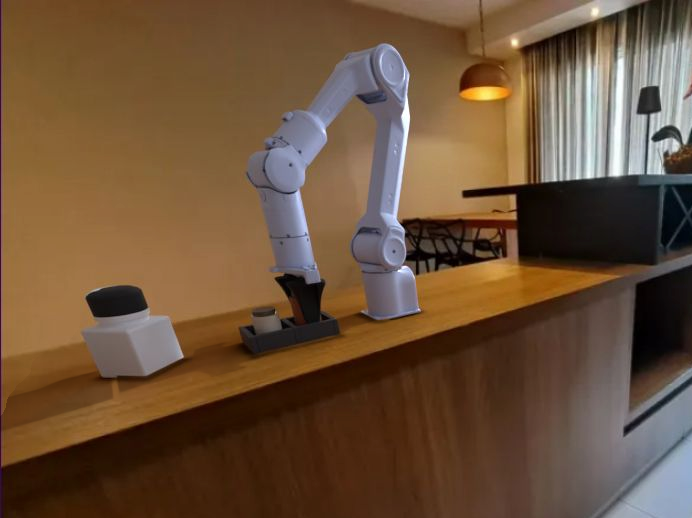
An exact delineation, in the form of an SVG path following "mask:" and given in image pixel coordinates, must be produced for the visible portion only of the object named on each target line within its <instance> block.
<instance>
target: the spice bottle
mask: <svg viewBox="0 0 692 518" xmlns="http://www.w3.org/2000/svg"><path fill="white" fill-rule="evenodd" d="M291 293H292V292H291ZM289 299H290V302H289V303H291V304H290V307H291V311H292V315H293V316H294V320H295V324H296V326H300V325H305V324H308V323H306V321H305V319H304V317H303V315H302V312H301V310H300V307H299V304H298V302H297V300H296V298H295V296H294V295H293V293H292V295H291V296H290V297H289ZM320 321H322V318H321V316H320Z"/></svg>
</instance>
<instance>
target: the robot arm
mask: <svg viewBox="0 0 692 518" xmlns="http://www.w3.org/2000/svg"><path fill="white" fill-rule="evenodd" d="M409 79H410V72H409V70H408V68H407V66H406V64H405V62H404V60H403V58H402V56H401V54H400V53H399V51H398V50H397V49H396V48H395V47H394V46H393V45H391V44H389V43H380V44H377V45H376V46H374V47H371V48H368V49H364V50H360V51H357V52H354V51H352V52H348V53H347V54H345V55H344V57H343V59H342V60H340V61H339V62H338V63H337V64H336V65H335V67H334V70H333V71H332V73H331V74H330V75H329V77H328V79H327V80H326V81H325V83H324V84H323V85H322V86H321V88H320V90H319V91H318V93H317V94H316V95H315V97H314V98H313V100H312V101H311V103H310V104H309V106H308V107H307V109H306V110H301V109H293V111H292V112H291V111H285V112H284V113H283V114H282V115H281V116H280V120H282V124H281V125H280V126H279V128H278V129H277V130H276V131H275V132H274V134H273V135H272V136H270V137H269V136H268V137H265V138H264V140H263V141H262V143H263V145H264V150H259V151H255V152H253V153H252V154H251V155H250V156H249V158H248V160H247V165H248V166H246V169H247V170H246V171H245V172H244V174H245V176H246V179H247V180H248V183H250V185H251V186H252V187H254V188H255V190H256V191H257V193H258V196H259V201H260V205H261V209H262V213H263V217H264V221H265V226H266V230H267V233H268V237H269V241H270V246H271V249H272V253H273V258H274V262H275V265H272V266H268V271H269V272H270V273H273V274H275V273H281V274H282V275H279V276H275V277H274V278H273V279H274V281H275V282H276V283H277V284H278V285H279V287H280V288H281V289H282V291H283V293H284V294H285V296H286V297H287V299H288V301H289V303H290V299H289V297H290V296H291V295H292V293H293V295H294V296H295V298H296V300H297V302H298V304H299V307H300V310H301V312H302V315H303V317H304V319H305V321H306V323H308V324H309V323H314V322H319V321H320V316H321V311H322V298H323V297H322V296H323V292H324V289H325V287H326V284H327V282H326V279H324V278H321V277H320V276H321V275H320V272H319V269H318V264H317V262H316V261H315V256H314V252H313V247H312V242H311V238H310V237H311V236H310V233H309V227H308V224H307V219H306V214H305V209H304V204H303V200H302V195H301V191H300V188H302V187H303V186H304V185H305V182H306V181H305V180H306V170H307V169H308V167H309V166H310V165H311V163H312V162H313V161H314V160H315V158H316V157H317V156H318V154H319V153H320V152H321V150H323V147H324V146H325V145H326V144H327V142H328V134H327V130H326V129H327V128H328V127H329V125H330V124H331V123H332V122H333V121H334V120H335V118H336V117H337V116H338V115H340V113H341V112H342V111H343V110H344V109H345V108H346V107H347V105H348V104H349V103H350V102H351V101H352V100H353V98H354V97H355V98H356V99H357V100H358V101H359V102H360V103H361V104H362V106H363V107H364V108H365V109H366V110H367V111H368V112H369V113H370V114H371V115H372V116H373V118H374V119H375V121H376V126H375V127H376V128H375V135H374V143H373V153H372V161H371V169H370V177H369V183H368V185H369V186H368V193H367V201H366V209H365V213H364V214H363V215H362V217H360V218H359V220H358V221H357V222H356V228H355V232H354V234H353V235H352V237H351V239H350V242H349V252H350V256H351V257H352V259H353V260H354V261H355V262H356V263H358V267H359V269H360V270H361V272H360V273H361V279H362V285H363V289H364V296H365V301H366V308H367V309H364V310H361V311H359V312H360V313H361V314H364V315H366V316H368V317H370V318H372V319H373V320H377V321H380V320H384V319H387V320H392V319H396V318H400V317H404V316H408V315H412V314H418V313H421V308H419V302H418V301H419V299H418V291H417V283H416V278H415V275H414V272H413V270H412V269H411V268H410V267H409V266H407V265H403V264H404V263H405V260H406V258H407V247H406V243H405V237H406V235H405V234H406V231H405V229H404V227H403V226H402V225H401V223H400V221H398V211H399V204H400V197H401V191H402V190H401V189H402V182H403V175H404V167H405V160H406V152H407V144H408V137H409V129H410V123H411V122H410V121H411V116H410V107H409V99H408V88H409V82H410V81H409ZM291 292H292V293H291ZM290 305H291V303H290Z"/></svg>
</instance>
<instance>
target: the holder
mask: <svg viewBox="0 0 692 518" xmlns="http://www.w3.org/2000/svg"><path fill="white" fill-rule="evenodd" d="M321 318H322V321H319V322H314V323H309V324H305V325H300V326H296V324H295V320H294V316H286V317H282V318H280V320H281V324H282V328H283V329H282V330H277V331H273V332H268V333H263V334H259V335H256V333H255V330H254V326H253V323H252V324H249V325H248V324H247V325H242V326H238V331H239V335H240V339H241V341H242V343H243V344H244V345H245V346H246V347H247V349H248V350H250V351H251V352H252V354H254V355H256V354H260V353H264V352H269V351H272V350H276V349H281V348H285V347H290V346H294V345H298V344H302V343H306V342H310V341H315V340H319V339H323V338H327V337H332V336H335V335H340V334H341V331H340V325H339V320H338V318H337V317H335V316H333V315H331V314H329V313H328V312H325V311H323V310H321Z"/></svg>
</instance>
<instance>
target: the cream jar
mask: <svg viewBox="0 0 692 518" xmlns="http://www.w3.org/2000/svg"><path fill="white" fill-rule="evenodd" d="M276 309H277V308H276V307H275V306H270V305H269V306H259V307H256V308H252V309H251V314H250V320H251V323H252V324H253V326H254V330H255V333H256V335H259V334H263V333H268V332H273V331H277V330H282V329H283V328H282V324H281V320H280V319H281V317H280V313H279V311H277V310H276Z"/></svg>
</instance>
